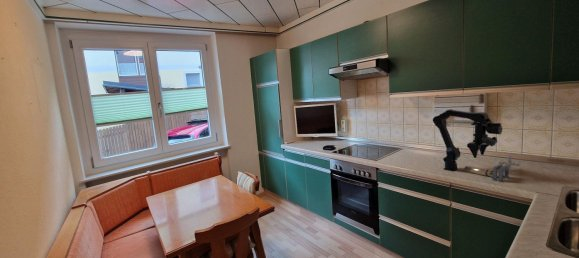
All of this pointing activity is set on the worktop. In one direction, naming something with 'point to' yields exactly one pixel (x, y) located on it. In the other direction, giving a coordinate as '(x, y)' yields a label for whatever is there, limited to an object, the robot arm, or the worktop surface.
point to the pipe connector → (509, 163)
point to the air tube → (479, 171)
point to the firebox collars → (500, 172)
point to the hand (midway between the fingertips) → (478, 156)
